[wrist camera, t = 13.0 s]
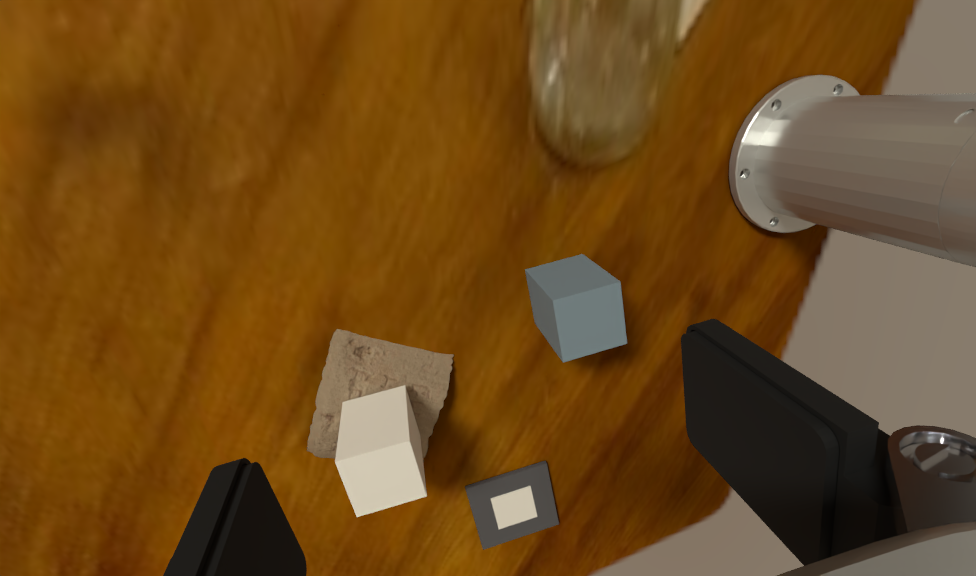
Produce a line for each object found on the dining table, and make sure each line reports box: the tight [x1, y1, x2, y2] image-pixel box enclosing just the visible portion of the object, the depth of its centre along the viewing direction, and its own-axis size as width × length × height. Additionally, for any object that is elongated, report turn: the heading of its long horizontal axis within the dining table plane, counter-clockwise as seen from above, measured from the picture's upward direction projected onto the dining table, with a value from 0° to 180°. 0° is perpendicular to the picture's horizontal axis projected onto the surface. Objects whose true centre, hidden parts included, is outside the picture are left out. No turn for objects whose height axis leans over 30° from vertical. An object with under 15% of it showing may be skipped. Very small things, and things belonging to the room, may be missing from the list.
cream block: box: [335, 385, 427, 517], centre depth 37 cm, size 5×5×7 cm
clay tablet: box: [306, 329, 454, 463], centre depth 41 cm, size 14×10×3 cm
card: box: [465, 461, 559, 550], centre depth 48 cm, size 8×8×1 cm
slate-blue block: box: [525, 254, 627, 362], centre depth 38 cm, size 5×5×7 cm
